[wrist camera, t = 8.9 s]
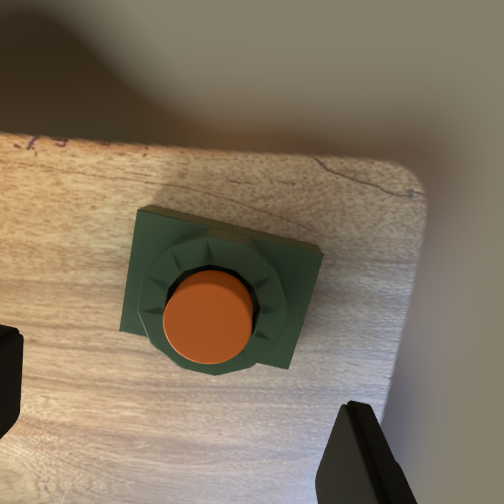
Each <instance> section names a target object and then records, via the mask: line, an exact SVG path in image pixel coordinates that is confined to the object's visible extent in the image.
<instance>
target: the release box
mask: <svg viewBox="0 0 504 504" xmlns="http://www.w3.org/2000/svg"><path fill="white" fill-rule="evenodd" d="M323 256H324V254H323V252H322V251H321V249H320V248H319V246H317V245H313V244H309V243H305V242H301V241H297V240H293V239H289V238H284V237H280V236H276V235H272V234H268V233H264V232H260V231H256V230H251V229H247V228H243V227H239V226H235V225H231V224H227V223H223V222H218V221H214V220H210V219H206V218H202V217H198V216H194V215H190V214H185V213H181V212H177V211H173V210H169V209H165V208H161V207H157V206H152V205H148V206H145V207H143V208H140V209H138V210H137V215H136V222H135V229H134V235H133V242H132V249H131V256H130V262H129V269H128V276H127V283H126V289H125V296H124V303H123V310H122V316H121V323H120V331H121V332H125V333H129V334H134V335H138V336H142V337H147V338H149V341H150V343H151V344H152V345H153V346H154V347H155V348H156V349H158V350H159V351H160V352H161V353H163V354H164V355H165V356H166V357H168V358H169V359H170V360H171V361H172V362H174V363H175V364H176V365H177V366H179V367H180V368H183V369H187V370H192V371H196V372H201V373H205V374H210V375H214V376H216V375H221V374H225V373H230V372H234V371H238V370H242V369H246V368H250V367H251V366H253V365H255V364H256V363H261V364H265V365H269V366H274V367H278V368H282V369H289V366H290V363H291V359H292V356H293V353H294V350H295V346H296V343H297V340H298V337H299V334H300V330H301V327H302V324H303V321H304V317H305V314H306V311H307V308H308V305H309V301H310V298H311V295H312V292H313V289H314V285H315V282H316V279H317V276H318V272H319V269H320V266H321V263H322V260H323ZM204 270H218V271H222V272H226V273H228V274H230V275H232V276H234V277H236V278H237V279H238V280H240V281H241V282H242V283H243V284H244V286H245V287H246V288H247V290H248V292H249V294H250V296H251V299H252V303H253V316H252V330H251V335H250V338H249V340H248V342H247V344H246V346H245V347H244V349H243V350H242V351H241V352H240V353H238V354H237V355H236V356H235V357H233V358H231V359H229V360H227V361H225V362H221V363H216V364H202V363H197V362H194V361H191V360H189V359H187V358H185V357H183V356H182V355H180V354H179V353H178V352H177V351H176V350H175V349H174V348H173V347H172V346H171V344H170V343H169V341H168V340H167V337H166V335H165V332H164V328H163V314H164V310H165V308H166V305H167V303H168V302H169V300H170V299H171V297H172V296H173V294H174V293H175V291H176V290H177V288H178V287H179V285H180V284H181V283H182V282H183V281H184V280H185V279H186V278H187V277H189V276H190V275H192V274H194V273H197V272H200V271H204Z"/></svg>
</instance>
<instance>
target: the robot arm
mask: <svg viewBox="0 0 504 504" xmlns="http://www.w3.org/2000/svg"><path fill="white" fill-rule="evenodd" d="M23 343H24V338H23V335H21V334H19V330H18V329H17V328H15V327H10V326H6V325H1V324H0V439H1V438H2V437H3V436H4V435H5V434H6V433H7V432H8V431H9V430H10V428H11V427H12V426H13V425H14V424H15V422H16V421H17V419H18V417H19V414H20V402H21V383H22V363H23ZM315 488H316V495H317V501H318V504H417V502H416V500H415V498H414V496H413V494H412V491H411V489H410V487H409V485H408V482H407V480H406V478H405V475H404V473H403V471H402V469H401V467H400V465H399V464H398V463H397V462H396V461H395V459H394V457H393V455H392V452H391V450H390V448H389V445H388V443H387V441H386V439H385V437H384V434H383V432H382V430H381V427H380V425H379V423H378V421H377V418H376V416H375V414H374V412H373V409H372V407H371V406H370V405H369V404H365V403H360V402H356V401H349V402H348V403H347V405H345V404H342V405H341V407H340V409H339V412H338V415H337V418H336V421H335V423H334V426H333V429H332V432H331V435H330V437H329V440H328V443H327V446H326V448H325V451H324V454H323V457H322V460H321V462H320V465H319V468H318V471H317V474H316V479H315Z"/></svg>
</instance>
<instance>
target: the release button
mask: <svg viewBox="0 0 504 504" xmlns="http://www.w3.org/2000/svg"><path fill="white" fill-rule="evenodd" d="M252 316H253V303H252V299H251V296H250V294H249V292H248V290H247V288H246V287H245V286H244V284H243V283H242V282H241V281H240V280H238V279H237V278H236V277H234V276H232V275H230V274H228V273H226V272H222V271H218V270H204V271H200V272H197V273H194V274H192V275H190V276H189V277H187V278H186V279H185V280H184V281H183V282H182V283H181V284H180V285H179V287H178V288H177V290H176V291H175V293H174V294H173V296H172V297H171V299H170V300H169V302H168V303H167V305H166V308H165V310H164V314H163V328H164V332H165V335H166V337H167V340H168V341H169V343H170V344H171V346H172V347H173V348H174V349H175V350H176V351H177V352H178V353H179V354H180V355H182V356H183V357H185V358H187V359H189V360H191V361H194V362H197V363H202V364H216V363H221V362H225V361H227V360H229V359H231V358H233V357H235V356H236V355H237V354H238V353H240V352H241V351H242V350H243V349H244V347H245V346H246V344H247V342H248V340H249V338H250V335H251V330H252Z"/></svg>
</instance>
